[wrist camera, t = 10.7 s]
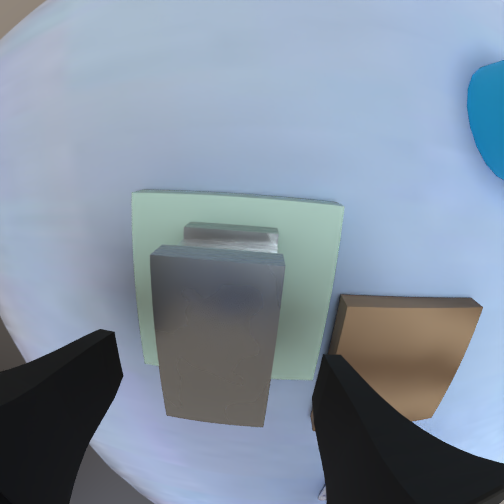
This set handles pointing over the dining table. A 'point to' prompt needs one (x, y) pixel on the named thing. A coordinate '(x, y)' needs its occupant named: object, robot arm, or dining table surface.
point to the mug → (488, 114)
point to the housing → (217, 321)
